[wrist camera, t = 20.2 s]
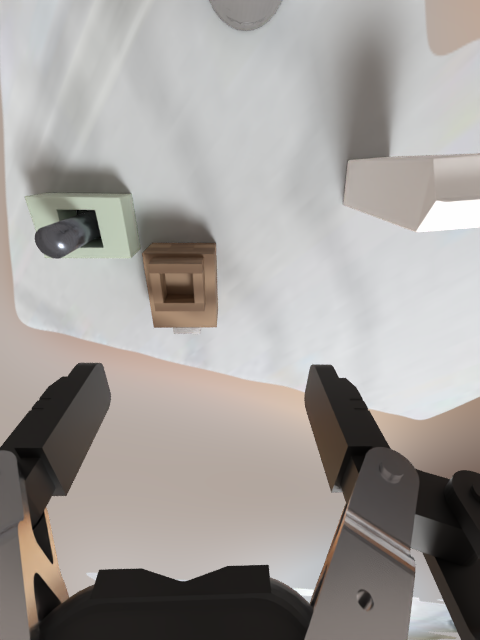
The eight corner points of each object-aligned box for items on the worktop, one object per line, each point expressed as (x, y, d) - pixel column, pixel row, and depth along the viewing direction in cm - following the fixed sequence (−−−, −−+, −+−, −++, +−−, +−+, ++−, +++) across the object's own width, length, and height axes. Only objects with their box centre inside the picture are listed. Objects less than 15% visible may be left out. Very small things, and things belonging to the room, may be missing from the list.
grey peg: (80, 210, 41) (29, 226, 31) (105, 210, 41) (63, 226, 31) (86, 234, 43) (41, 258, 32) (110, 235, 43) (72, 258, 33)
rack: (46, 192, 40) (24, 196, 35) (131, 193, 40) (119, 197, 36) (63, 248, 44) (45, 257, 39) (140, 248, 44) (130, 258, 40)
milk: (347, 160, 39) (460, 155, 20) (390, 156, 39) (545, 148, 20) (342, 206, 42) (437, 241, 23) (382, 203, 42) (511, 235, 23)
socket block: (152, 242, 44) (135, 260, 36) (216, 243, 44) (213, 260, 36) (161, 310, 50) (149, 337, 42) (217, 310, 50) (215, 337, 42)
